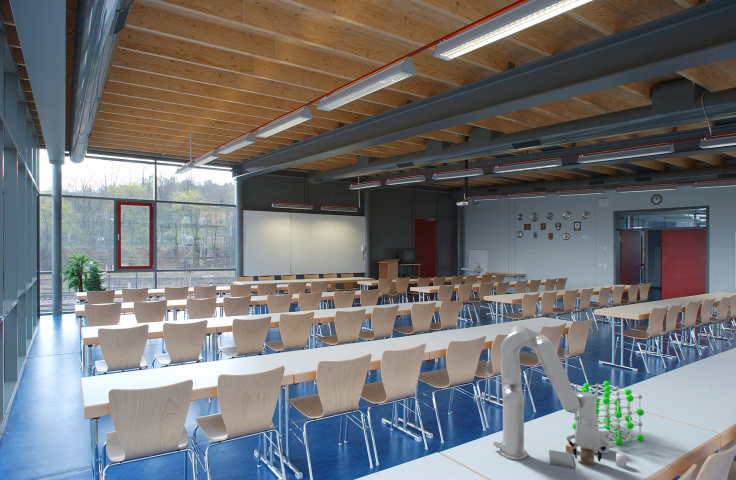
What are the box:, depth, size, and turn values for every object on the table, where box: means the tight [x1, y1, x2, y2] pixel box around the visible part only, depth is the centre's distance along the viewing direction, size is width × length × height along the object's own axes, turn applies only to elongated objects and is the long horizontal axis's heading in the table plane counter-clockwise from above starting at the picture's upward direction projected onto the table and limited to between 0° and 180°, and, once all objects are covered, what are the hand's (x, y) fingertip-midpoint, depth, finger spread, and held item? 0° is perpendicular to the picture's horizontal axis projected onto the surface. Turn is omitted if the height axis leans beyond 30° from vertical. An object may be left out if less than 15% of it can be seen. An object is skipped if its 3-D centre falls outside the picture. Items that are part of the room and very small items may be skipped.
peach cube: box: [565, 442, 573, 454], centre depth 214 cm, size 4×4×3 cm
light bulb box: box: [593, 425, 610, 454], centre depth 215 cm, size 11×7×11 cm, turn 92°
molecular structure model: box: [572, 380, 645, 446], centre depth 233 cm, size 24×25×24 cm
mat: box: [548, 449, 575, 470], centre depth 205 cm, size 10×14×1 cm
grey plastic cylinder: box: [615, 452, 627, 469], centre depth 200 cm, size 4×4×5 cm
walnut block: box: [580, 447, 595, 467], centre depth 203 cm, size 5×5×6 cm
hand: (587, 458), depth 203 cm, fingers open, 9 cm apart
